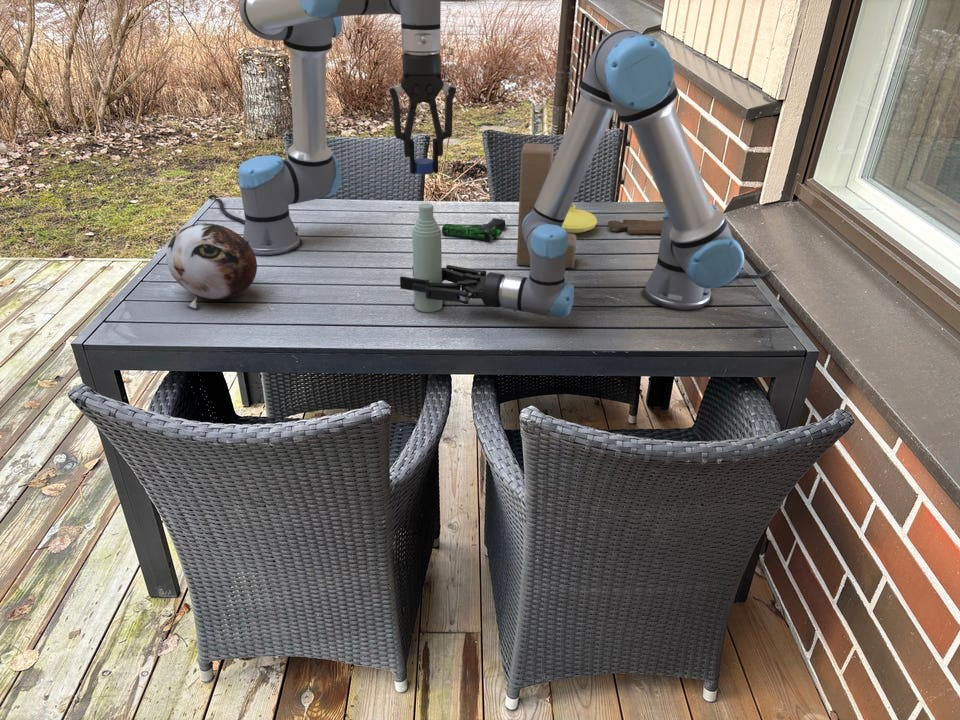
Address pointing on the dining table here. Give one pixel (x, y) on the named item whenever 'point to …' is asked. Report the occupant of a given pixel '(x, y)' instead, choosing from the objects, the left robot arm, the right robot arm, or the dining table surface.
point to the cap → (424, 166)
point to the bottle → (427, 256)
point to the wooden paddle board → (637, 226)
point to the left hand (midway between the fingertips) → (424, 171)
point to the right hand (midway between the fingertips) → (407, 276)
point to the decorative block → (536, 195)
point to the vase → (578, 221)
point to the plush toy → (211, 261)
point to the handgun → (476, 230)
